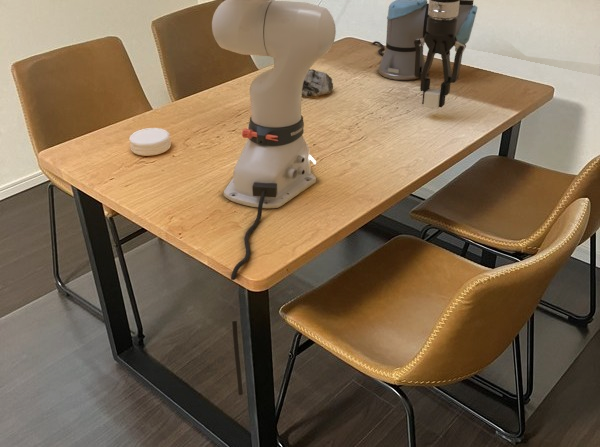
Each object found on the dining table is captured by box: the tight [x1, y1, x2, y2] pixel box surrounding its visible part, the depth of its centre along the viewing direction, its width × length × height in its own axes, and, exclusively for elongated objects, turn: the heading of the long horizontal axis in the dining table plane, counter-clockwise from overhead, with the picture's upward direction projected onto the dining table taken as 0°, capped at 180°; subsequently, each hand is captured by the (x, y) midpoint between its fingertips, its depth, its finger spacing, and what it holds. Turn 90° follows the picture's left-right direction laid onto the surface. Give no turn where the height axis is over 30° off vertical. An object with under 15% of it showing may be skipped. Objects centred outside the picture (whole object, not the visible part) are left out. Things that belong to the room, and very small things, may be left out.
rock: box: [302, 68, 334, 97], centre depth 188 cm, size 15×10×7 cm
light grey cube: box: [422, 87, 441, 110], centre depth 169 cm, size 4×4×4 cm
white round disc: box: [128, 127, 172, 157], centre depth 156 cm, size 10×10×4 cm
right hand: (433, 103), depth 170 cm, fingers closed on light grey cube, 4 cm apart
